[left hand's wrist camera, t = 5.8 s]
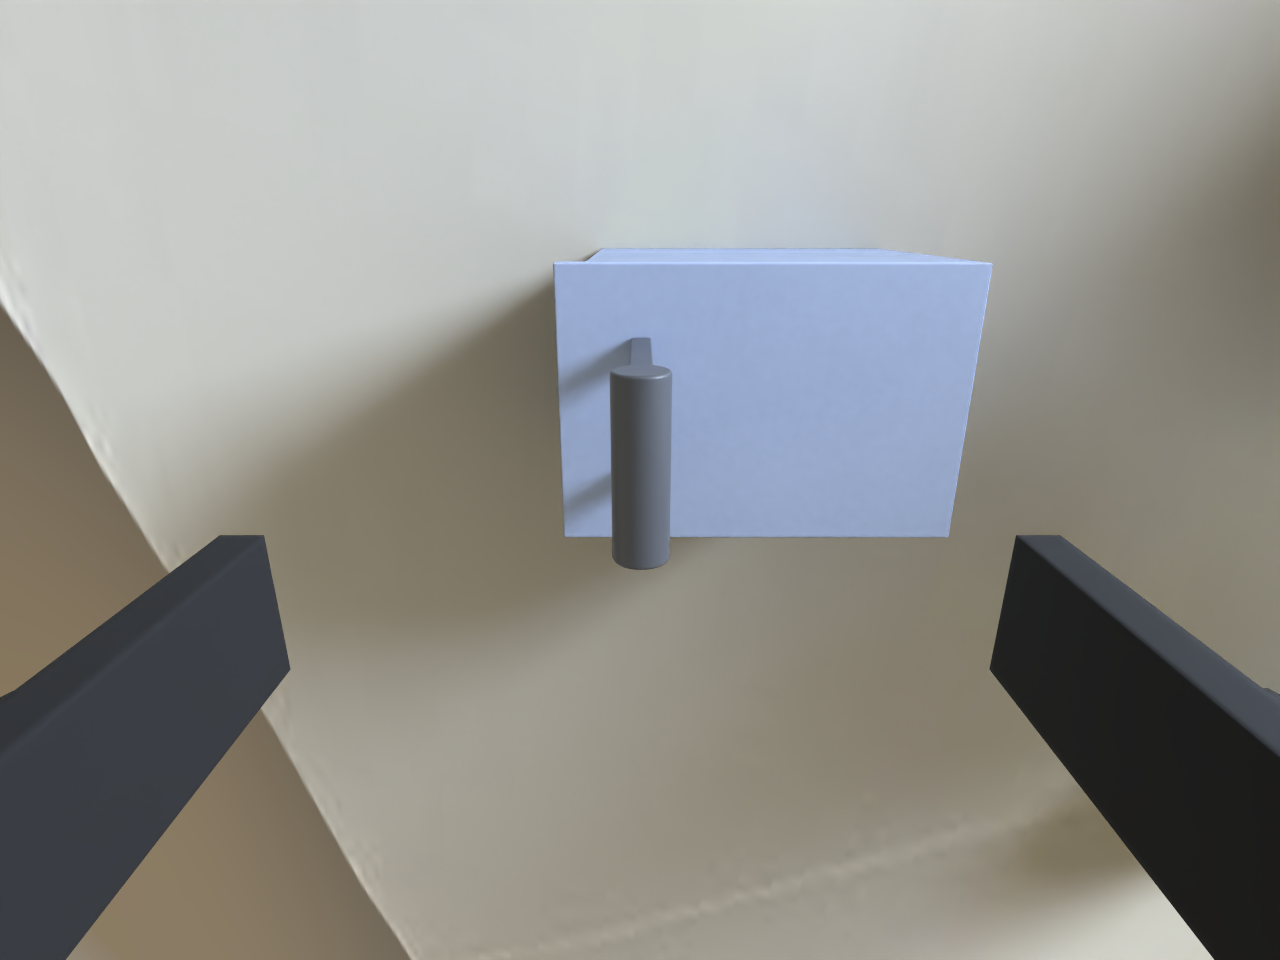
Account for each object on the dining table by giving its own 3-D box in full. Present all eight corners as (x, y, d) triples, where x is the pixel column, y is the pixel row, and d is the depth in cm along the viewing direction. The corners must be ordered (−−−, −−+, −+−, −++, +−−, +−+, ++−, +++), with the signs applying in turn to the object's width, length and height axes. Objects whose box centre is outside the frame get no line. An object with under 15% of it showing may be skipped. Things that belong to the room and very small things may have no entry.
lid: (566, 527, 29) (538, 643, 21) (556, 261, 25) (518, 280, 17) (938, 527, 29) (1050, 643, 21) (980, 261, 25) (1133, 281, 17)
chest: (604, 443, 39) (591, 526, 29) (601, 248, 36) (584, 261, 25) (857, 443, 39) (938, 527, 29) (879, 248, 36) (979, 261, 25)
